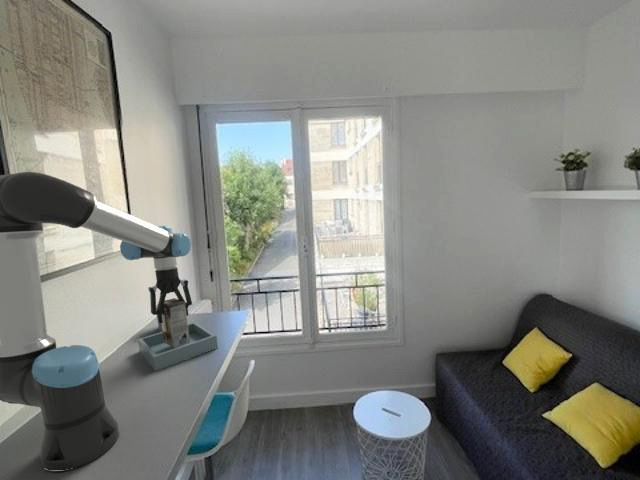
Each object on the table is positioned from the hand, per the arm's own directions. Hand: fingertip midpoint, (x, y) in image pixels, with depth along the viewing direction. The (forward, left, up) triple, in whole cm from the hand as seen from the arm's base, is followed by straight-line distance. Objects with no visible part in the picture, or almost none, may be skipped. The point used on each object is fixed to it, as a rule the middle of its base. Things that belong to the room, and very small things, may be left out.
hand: (175, 327), depth 130 cm
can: (+6, +27, -9) cm, 29 cm away
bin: (0, 0, -9) cm, 9 cm away
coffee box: (0, 0, -6) cm, 6 cm away
